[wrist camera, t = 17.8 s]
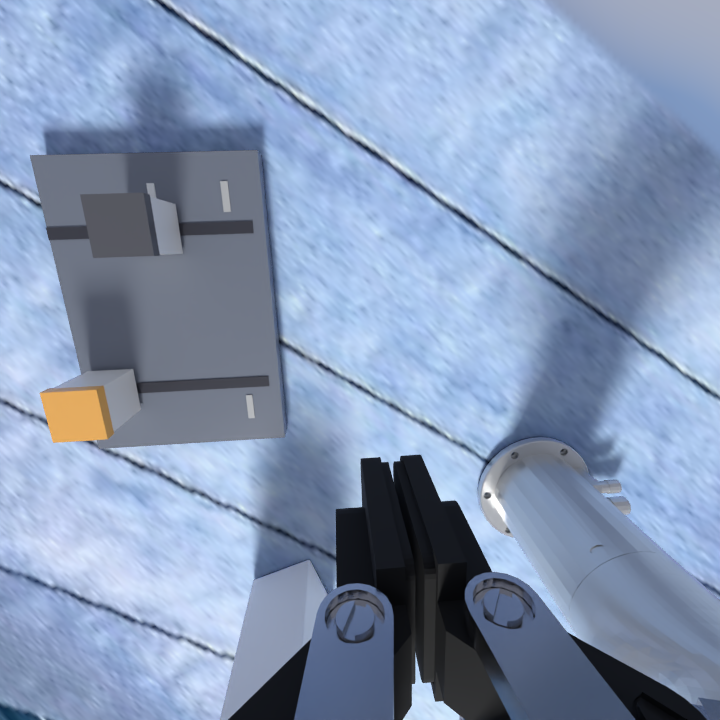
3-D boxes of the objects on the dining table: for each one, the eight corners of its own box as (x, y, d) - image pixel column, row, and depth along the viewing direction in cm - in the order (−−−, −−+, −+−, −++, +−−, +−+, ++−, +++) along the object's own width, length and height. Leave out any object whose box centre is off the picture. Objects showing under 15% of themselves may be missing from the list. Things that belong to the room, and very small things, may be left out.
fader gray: (176, 202, 33) (143, 192, 27) (184, 255, 34) (154, 255, 28) (124, 204, 33) (79, 194, 27) (134, 256, 34) (93, 258, 28)
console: (261, 155, 35) (257, 149, 33) (287, 428, 42) (284, 437, 40) (47, 160, 34) (28, 155, 32) (110, 439, 41) (98, 449, 39)
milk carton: (278, 621, 48) (244, 848, 30) (253, 578, 46) (201, 792, 28) (332, 602, 48) (332, 818, 30) (309, 557, 46) (294, 759, 28)
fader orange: (133, 367, 36) (96, 389, 31) (142, 410, 37) (107, 439, 32) (86, 370, 36) (39, 393, 30) (96, 412, 37) (53, 442, 31)
